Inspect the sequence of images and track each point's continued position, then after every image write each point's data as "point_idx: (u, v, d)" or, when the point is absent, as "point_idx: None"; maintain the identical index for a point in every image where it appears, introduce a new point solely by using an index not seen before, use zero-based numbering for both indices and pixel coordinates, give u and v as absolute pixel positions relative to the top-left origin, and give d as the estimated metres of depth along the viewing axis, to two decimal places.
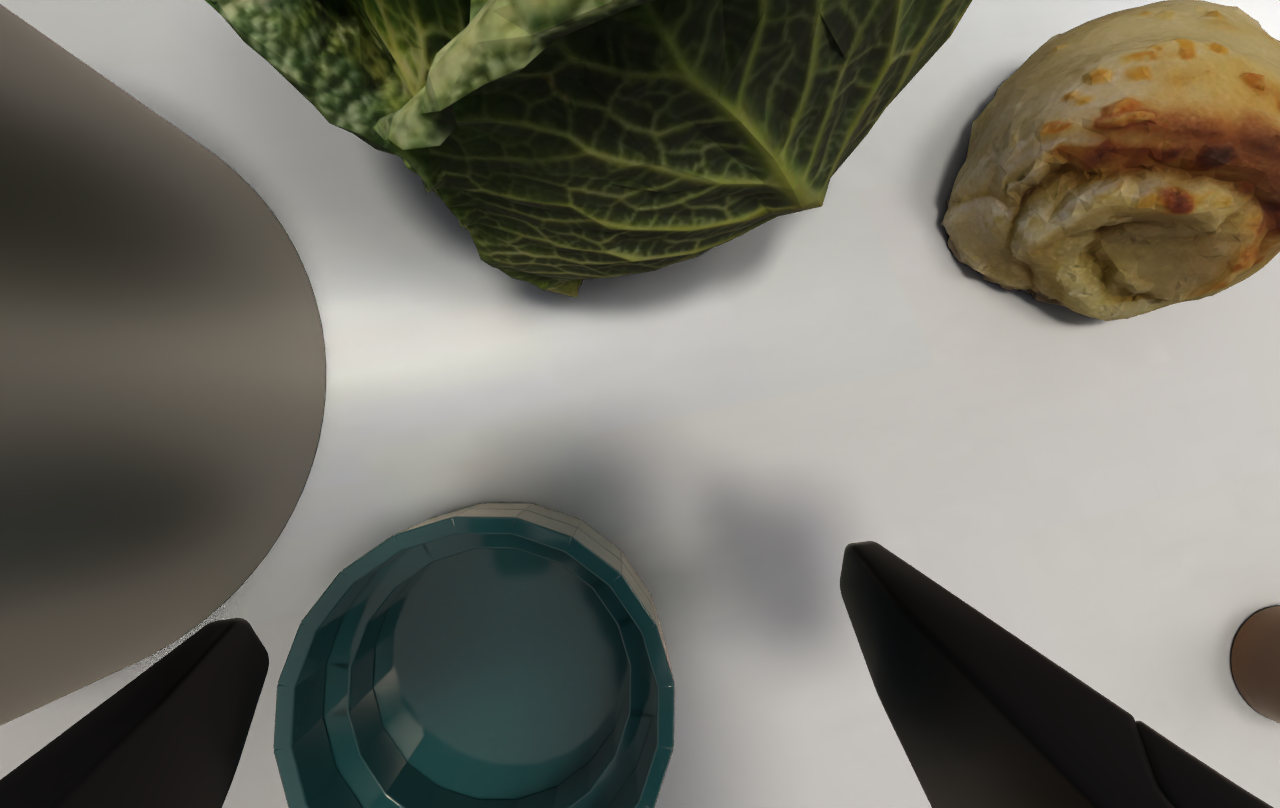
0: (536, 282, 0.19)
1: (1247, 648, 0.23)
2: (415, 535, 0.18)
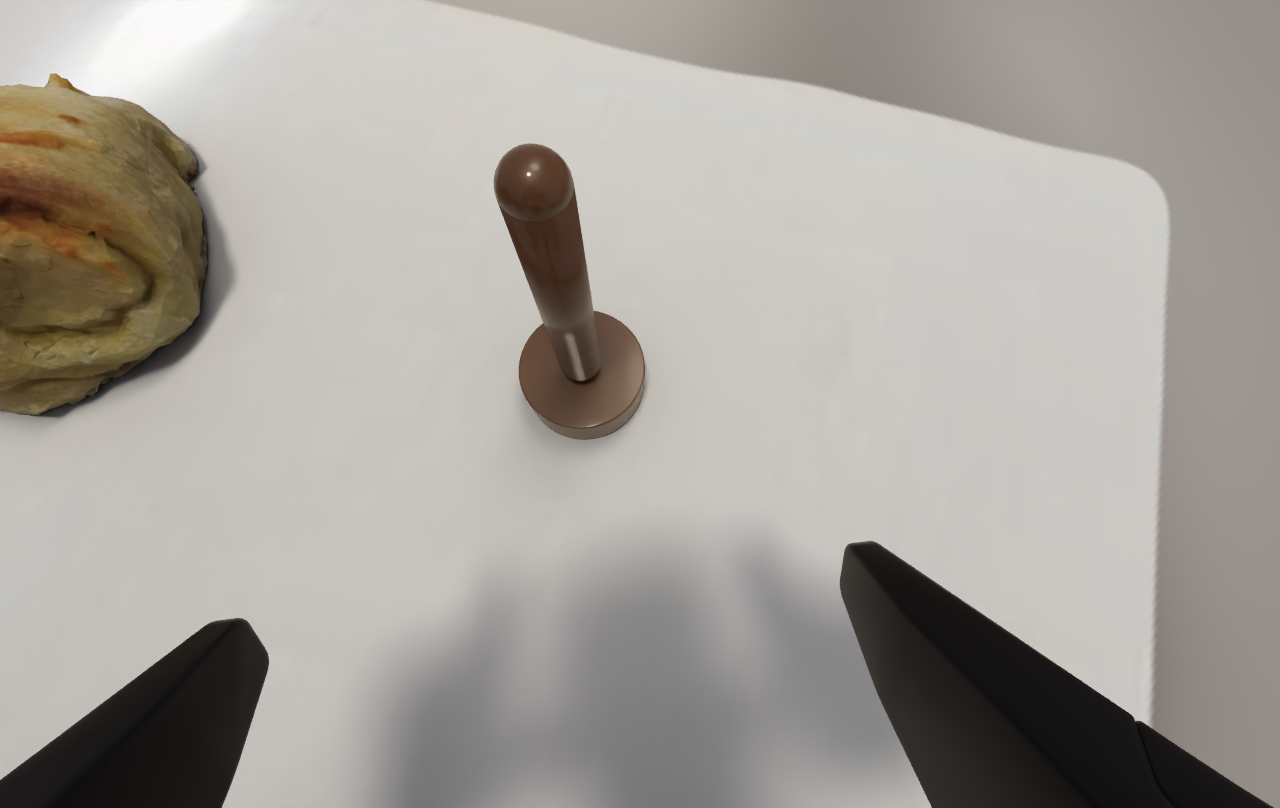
0: None
1: None
2: None
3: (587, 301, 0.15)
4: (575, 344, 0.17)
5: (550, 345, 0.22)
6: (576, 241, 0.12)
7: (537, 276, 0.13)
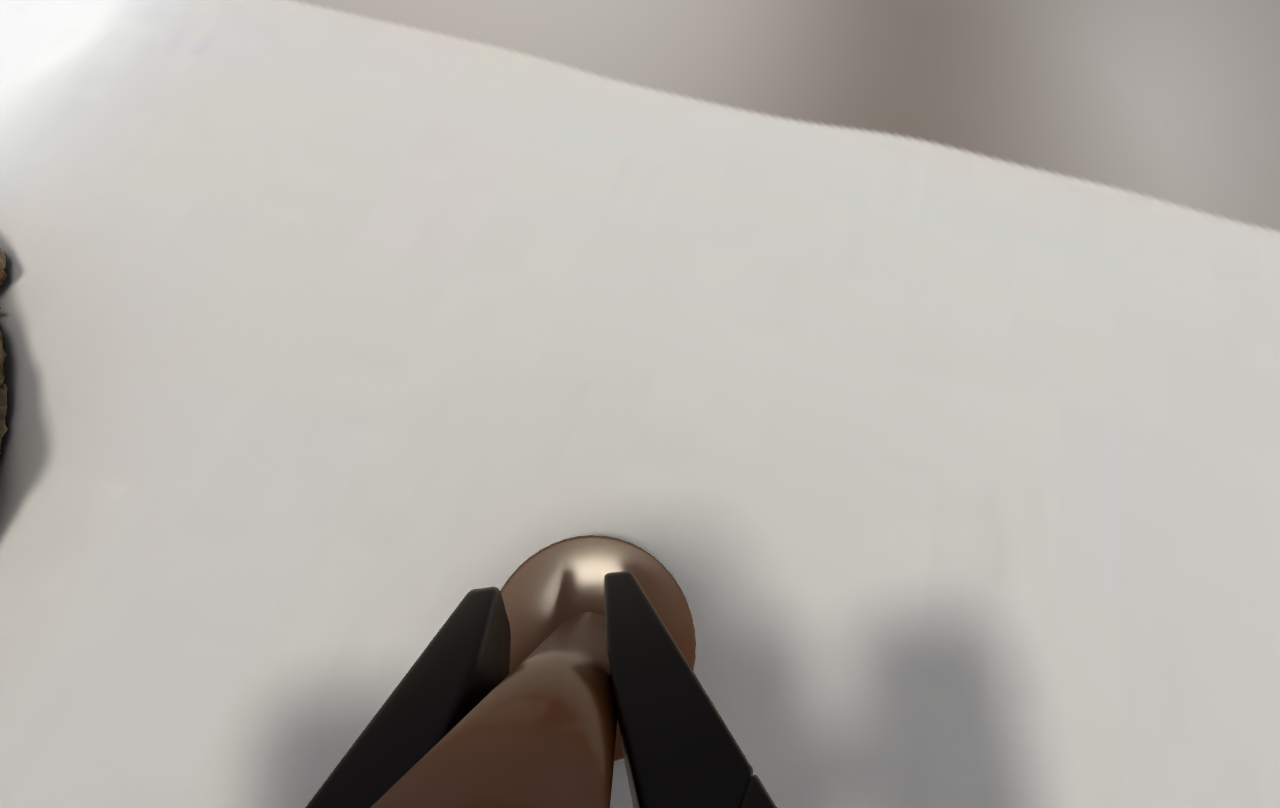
0: None
1: None
2: None
3: None
4: None
5: (537, 603, 0.13)
6: None
7: None
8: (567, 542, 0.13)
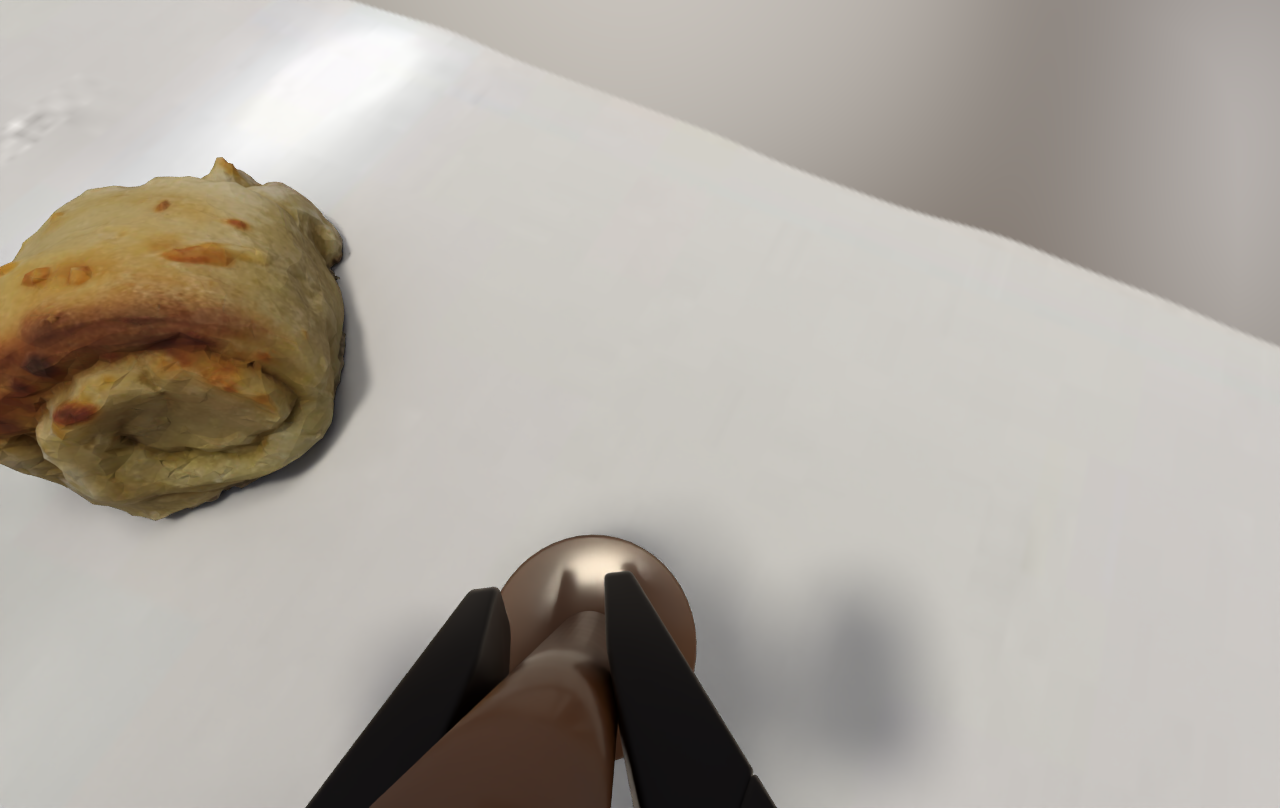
0: None
1: None
2: None
3: None
4: None
5: (538, 602, 0.13)
6: None
7: None
8: (568, 541, 0.13)
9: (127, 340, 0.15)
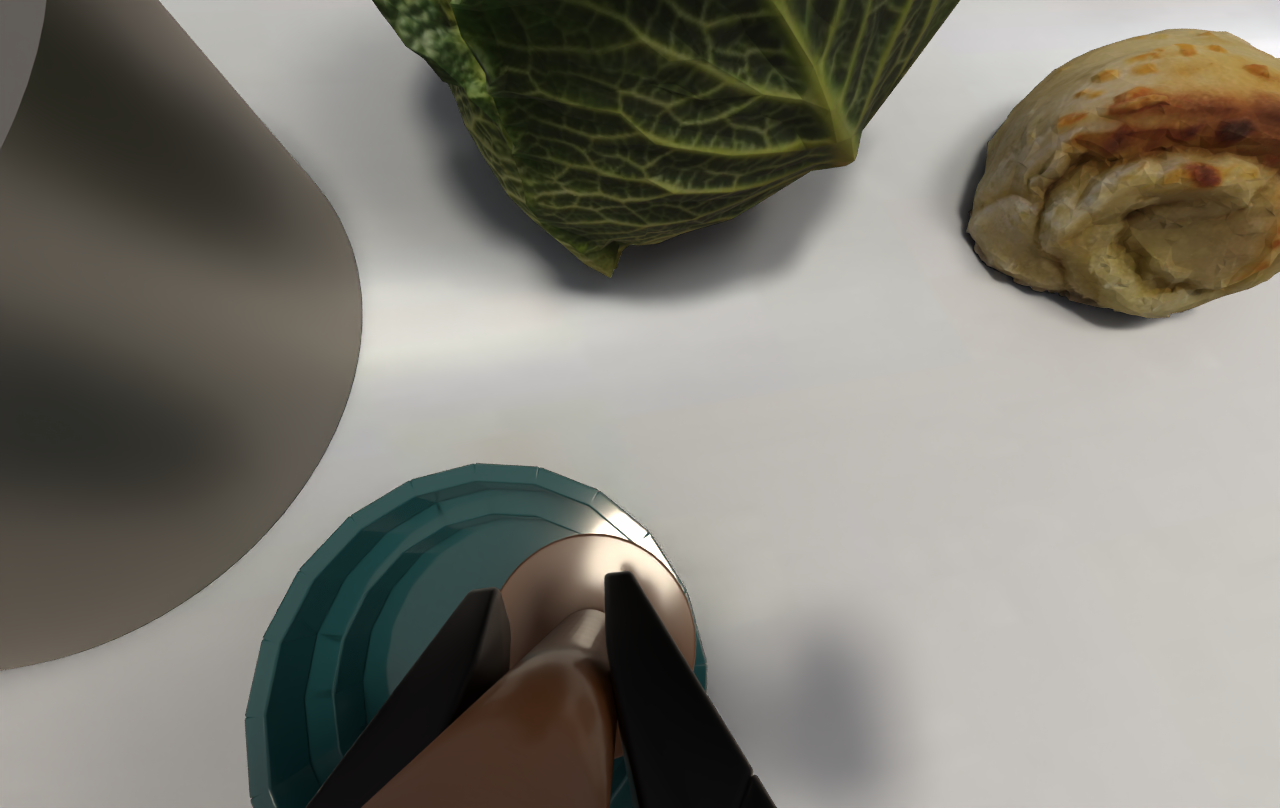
0: (575, 244, 0.20)
1: None
2: (432, 480, 0.17)
3: None
4: None
5: (537, 601, 0.13)
6: None
7: None
8: (568, 540, 0.13)
9: None
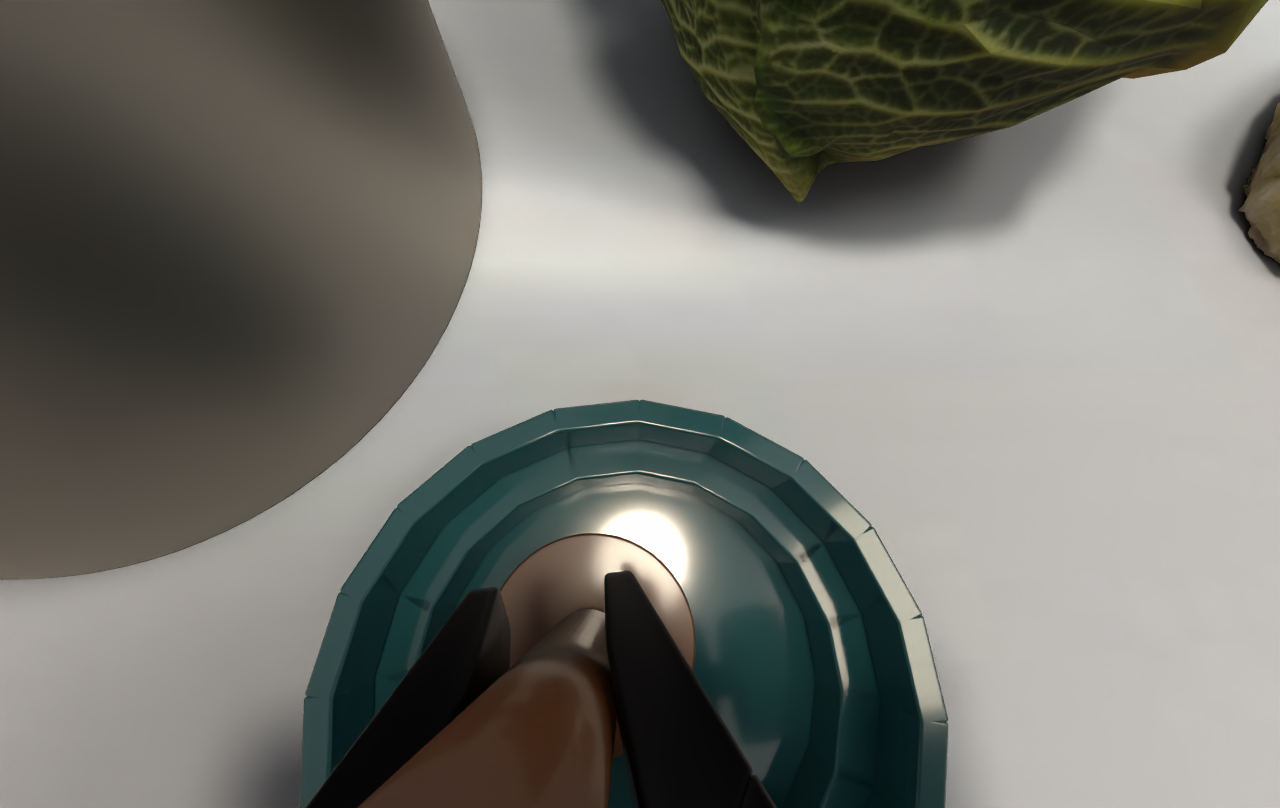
0: (787, 140, 0.15)
1: None
2: (582, 414, 0.13)
3: None
4: None
5: (537, 601, 0.13)
6: None
7: None
8: (567, 539, 0.13)
9: None
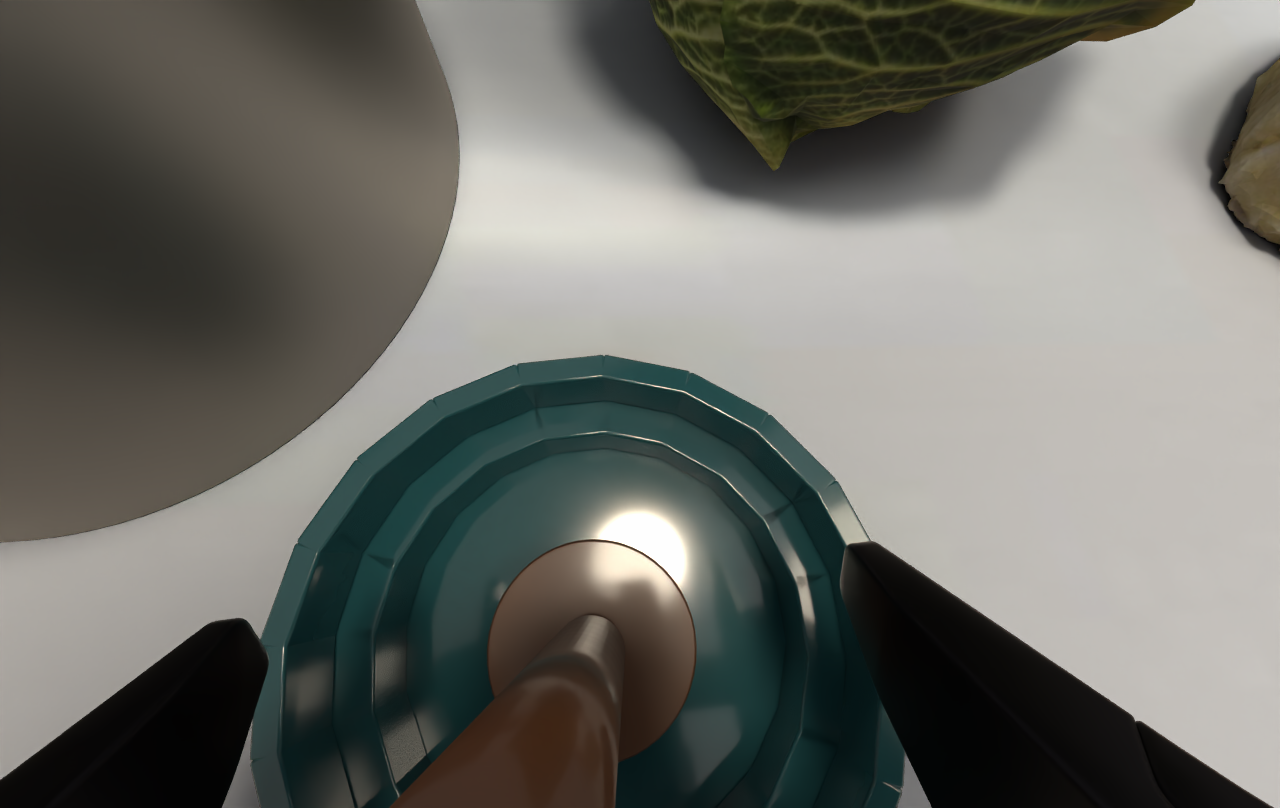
0: (757, 102, 0.15)
1: None
2: (546, 368, 0.13)
3: None
4: None
5: (539, 606, 0.13)
6: None
7: None
8: (569, 546, 0.13)
9: None
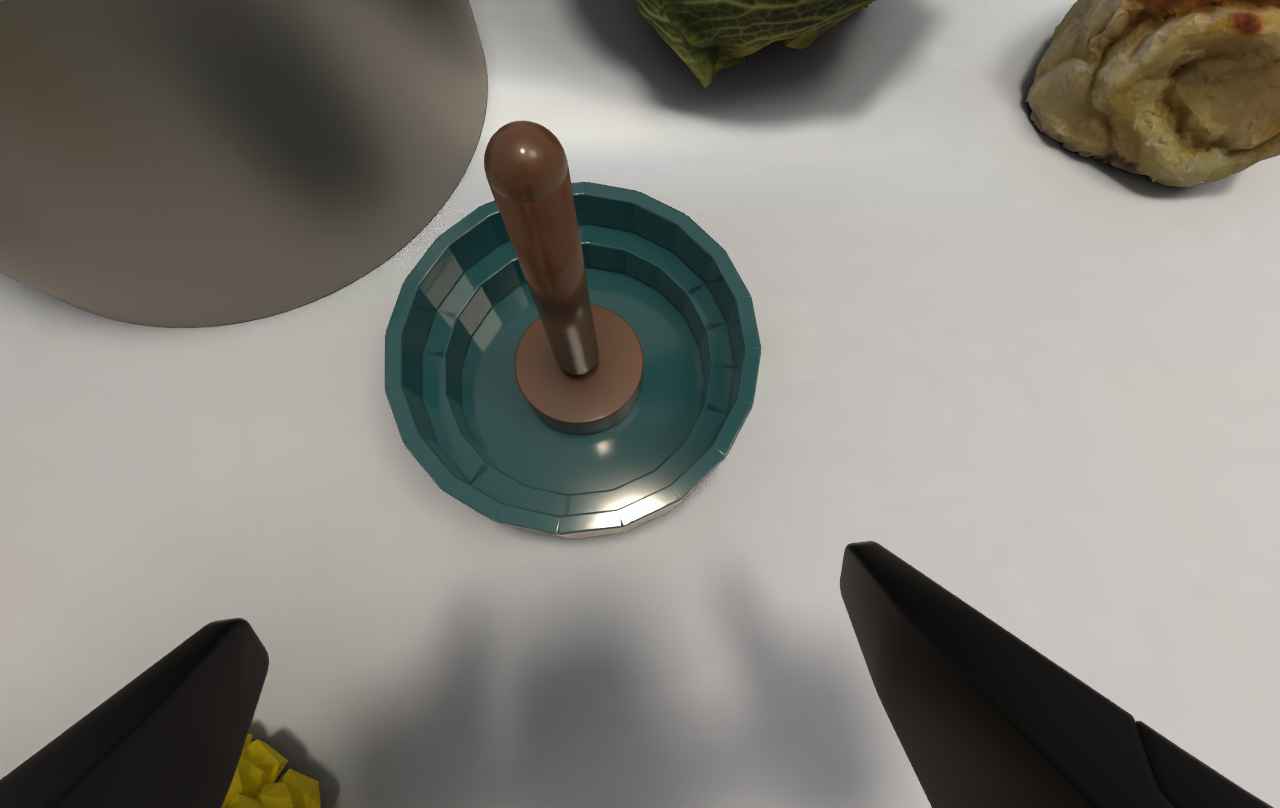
0: (687, 33, 0.23)
1: None
2: None
3: (583, 290, 0.15)
4: (572, 336, 0.17)
5: (546, 339, 0.21)
6: (571, 225, 0.12)
7: (531, 262, 0.13)
8: None
9: None
